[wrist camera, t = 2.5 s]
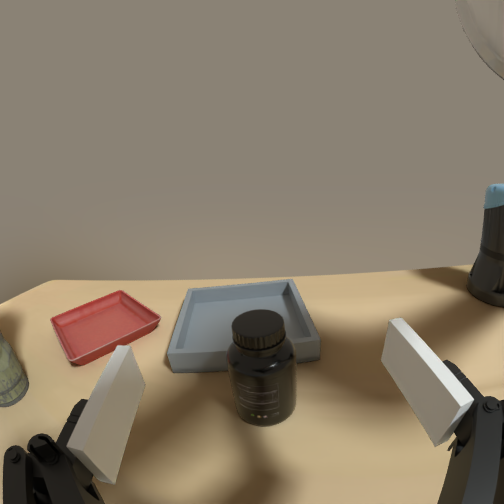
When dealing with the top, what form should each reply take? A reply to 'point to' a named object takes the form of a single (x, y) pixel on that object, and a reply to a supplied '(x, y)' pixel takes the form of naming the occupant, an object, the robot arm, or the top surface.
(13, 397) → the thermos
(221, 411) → the top surface
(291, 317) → the tray
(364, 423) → the top surface
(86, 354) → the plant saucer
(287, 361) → the supplement bottle
